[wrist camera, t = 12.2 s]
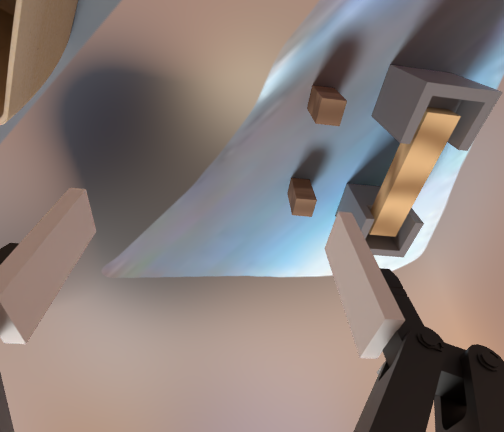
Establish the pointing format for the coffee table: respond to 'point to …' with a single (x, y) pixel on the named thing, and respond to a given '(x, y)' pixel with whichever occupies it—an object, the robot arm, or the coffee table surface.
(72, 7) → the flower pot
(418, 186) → the slat
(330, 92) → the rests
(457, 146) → the end caps
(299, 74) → the coffee table surface
